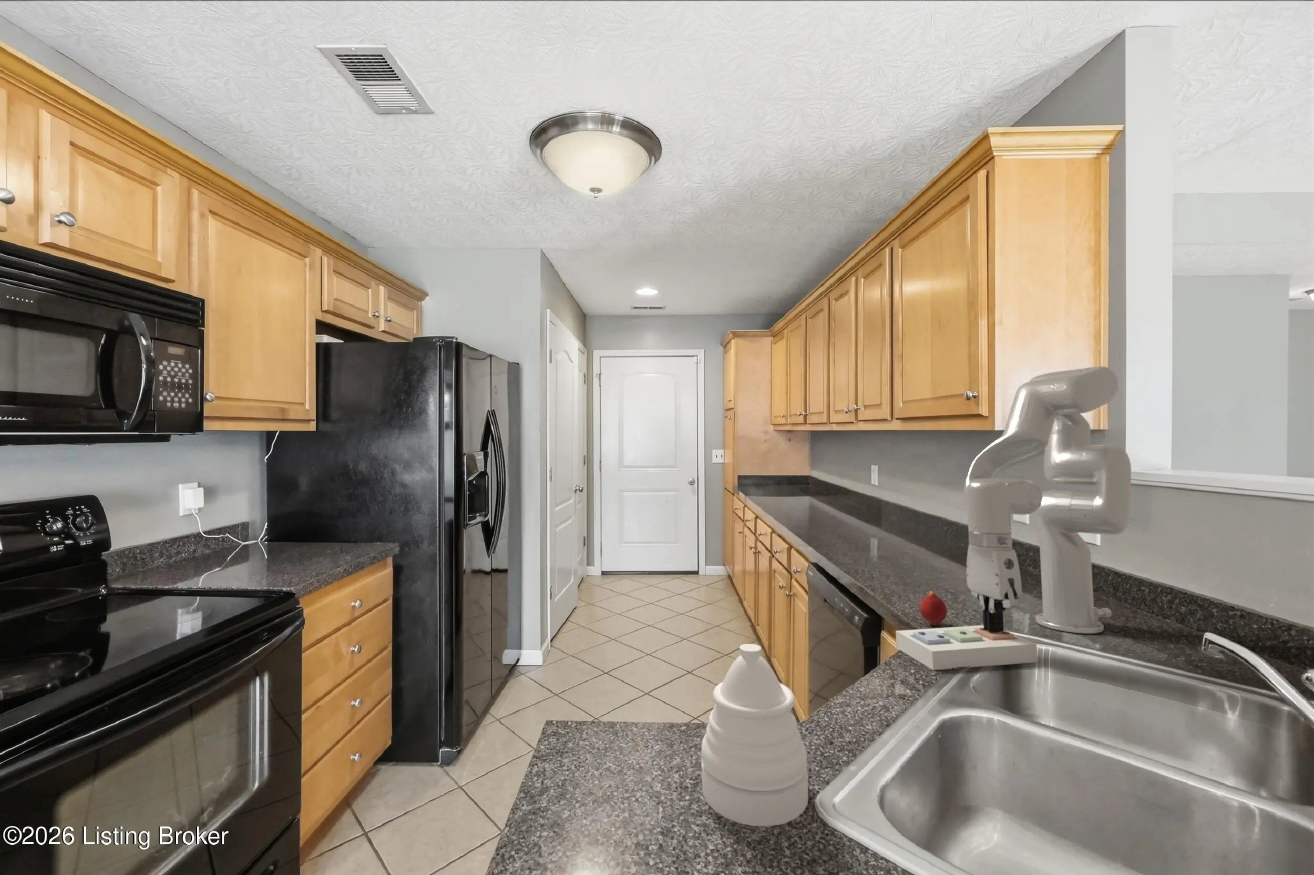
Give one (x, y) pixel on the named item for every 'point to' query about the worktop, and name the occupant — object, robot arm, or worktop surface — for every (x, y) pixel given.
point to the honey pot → (754, 747)
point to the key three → (994, 634)
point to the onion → (933, 609)
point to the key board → (966, 650)
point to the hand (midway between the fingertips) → (993, 630)
